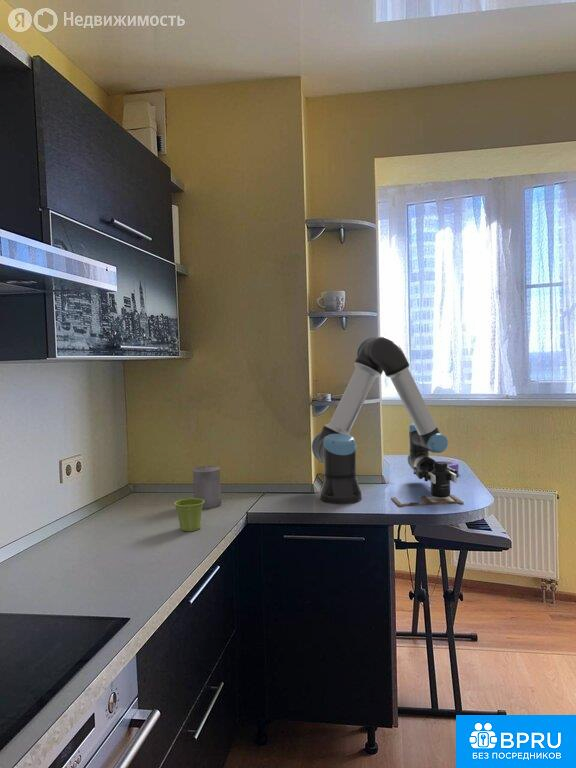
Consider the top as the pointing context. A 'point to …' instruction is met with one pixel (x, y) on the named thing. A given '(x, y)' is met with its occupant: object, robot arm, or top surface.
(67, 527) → the top surface
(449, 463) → the tape roll
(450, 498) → the flat wooden frame
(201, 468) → the pillar candle
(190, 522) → the plant pot
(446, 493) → the supplement bottle
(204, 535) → the top surface
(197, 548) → the top surface
